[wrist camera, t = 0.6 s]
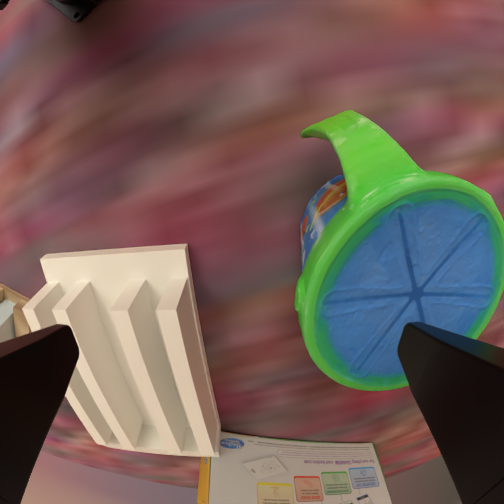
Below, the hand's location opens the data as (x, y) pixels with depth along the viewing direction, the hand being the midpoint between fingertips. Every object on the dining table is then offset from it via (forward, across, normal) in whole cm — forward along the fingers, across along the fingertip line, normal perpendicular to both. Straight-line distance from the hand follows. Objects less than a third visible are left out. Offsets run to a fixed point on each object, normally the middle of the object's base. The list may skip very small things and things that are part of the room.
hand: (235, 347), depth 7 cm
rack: (+13, -9, -13) cm, 21 cm away
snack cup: (+14, +8, -2) cm, 16 cm away
